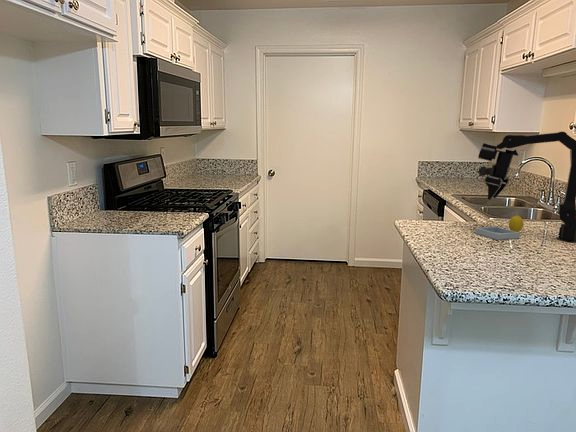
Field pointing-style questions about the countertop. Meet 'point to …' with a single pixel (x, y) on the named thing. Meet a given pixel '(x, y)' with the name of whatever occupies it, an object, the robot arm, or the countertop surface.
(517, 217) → the lemon
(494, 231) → the dish
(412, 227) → the countertop surface
